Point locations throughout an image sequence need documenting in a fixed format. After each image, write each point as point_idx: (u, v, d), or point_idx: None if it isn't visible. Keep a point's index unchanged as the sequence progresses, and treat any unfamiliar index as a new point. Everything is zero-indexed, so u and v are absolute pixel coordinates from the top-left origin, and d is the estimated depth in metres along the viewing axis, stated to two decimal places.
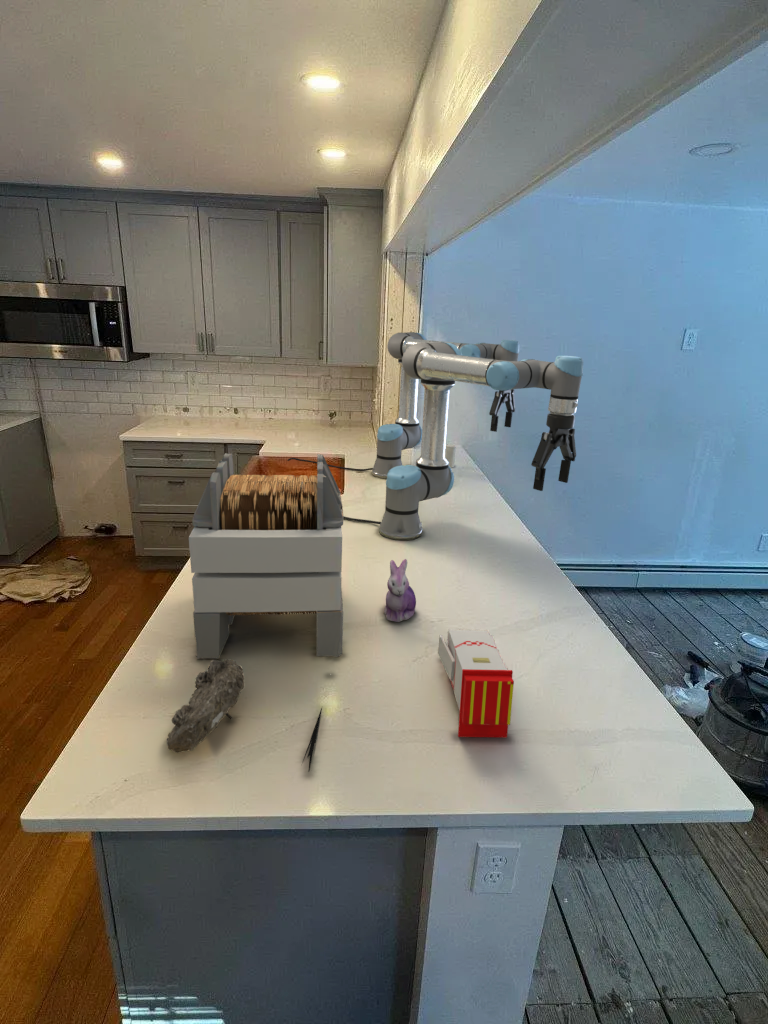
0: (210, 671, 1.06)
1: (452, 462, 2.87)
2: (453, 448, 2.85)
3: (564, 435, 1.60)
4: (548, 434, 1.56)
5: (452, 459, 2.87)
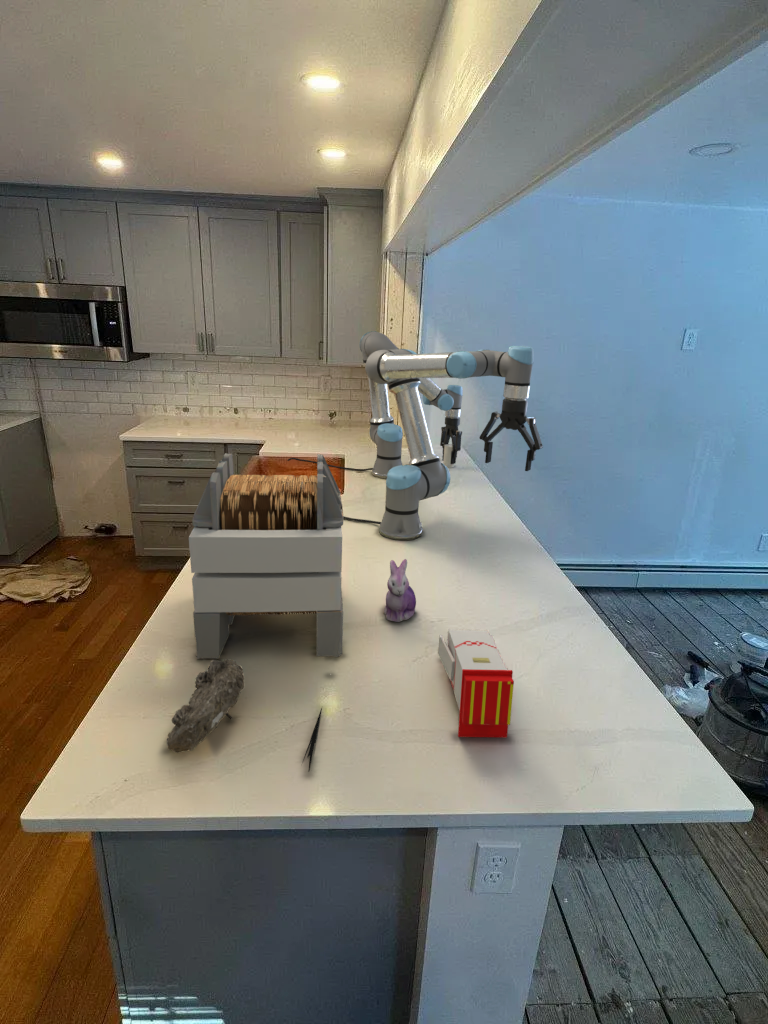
0: (210, 671, 1.06)
1: None
2: None
3: None
4: (535, 418, 1.72)
5: None
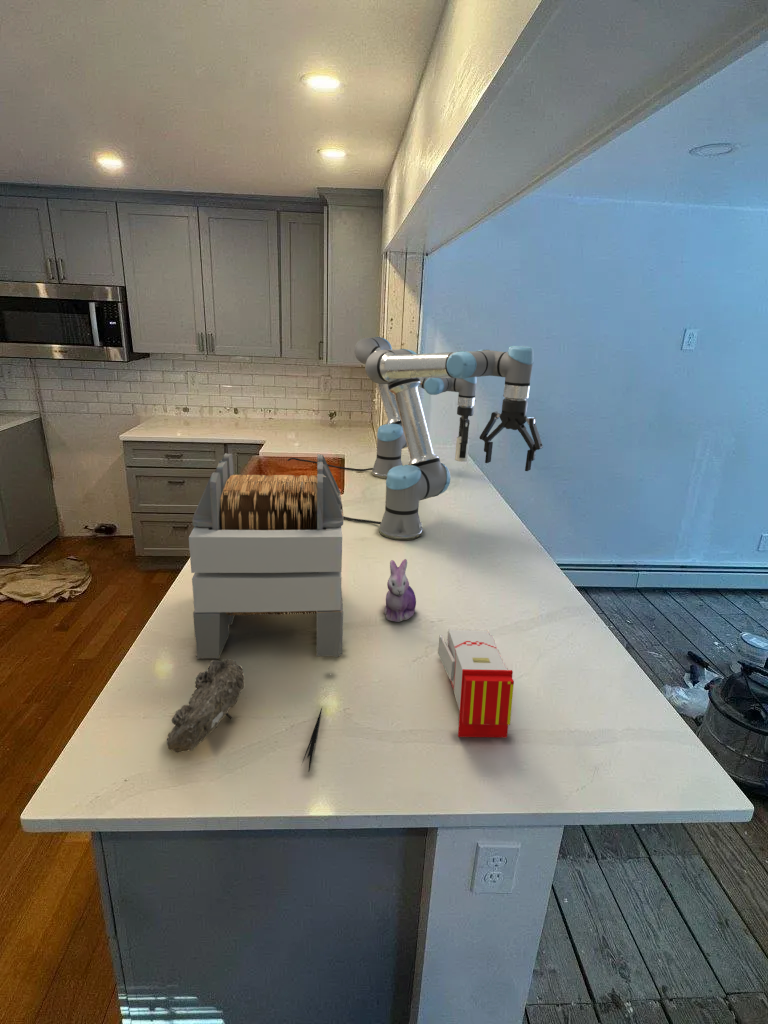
0: (210, 671, 1.06)
1: None
2: None
3: None
4: (535, 418, 1.72)
5: None
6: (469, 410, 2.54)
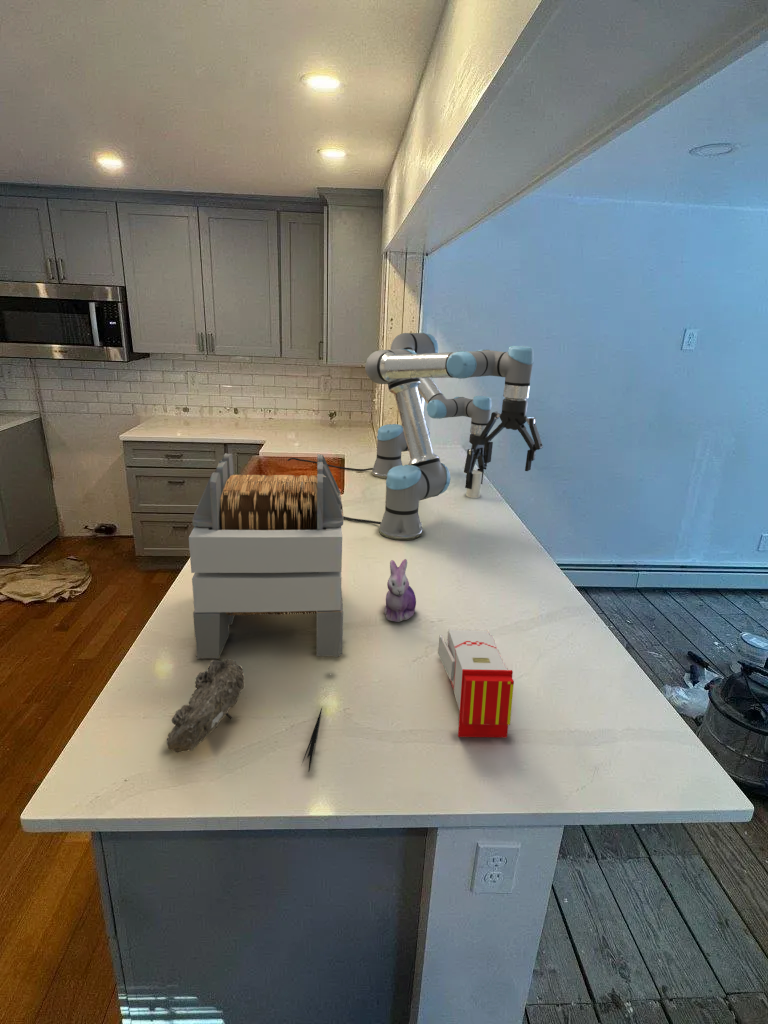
0: (210, 671, 1.06)
1: (470, 491, 2.42)
2: None
3: None
4: (535, 418, 1.72)
5: None
6: (477, 438, 2.33)
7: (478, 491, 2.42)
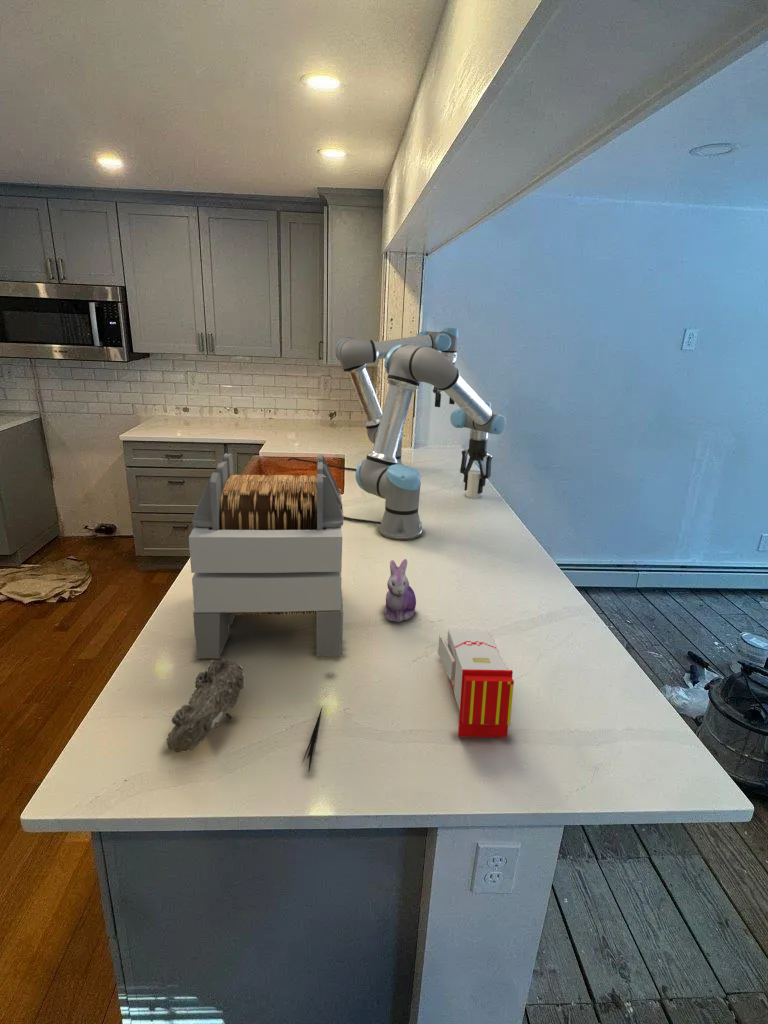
0: (210, 671, 1.06)
1: (470, 491, 2.42)
2: (471, 475, 2.40)
3: None
4: (492, 456, 2.36)
5: (470, 488, 2.41)
6: None
7: None
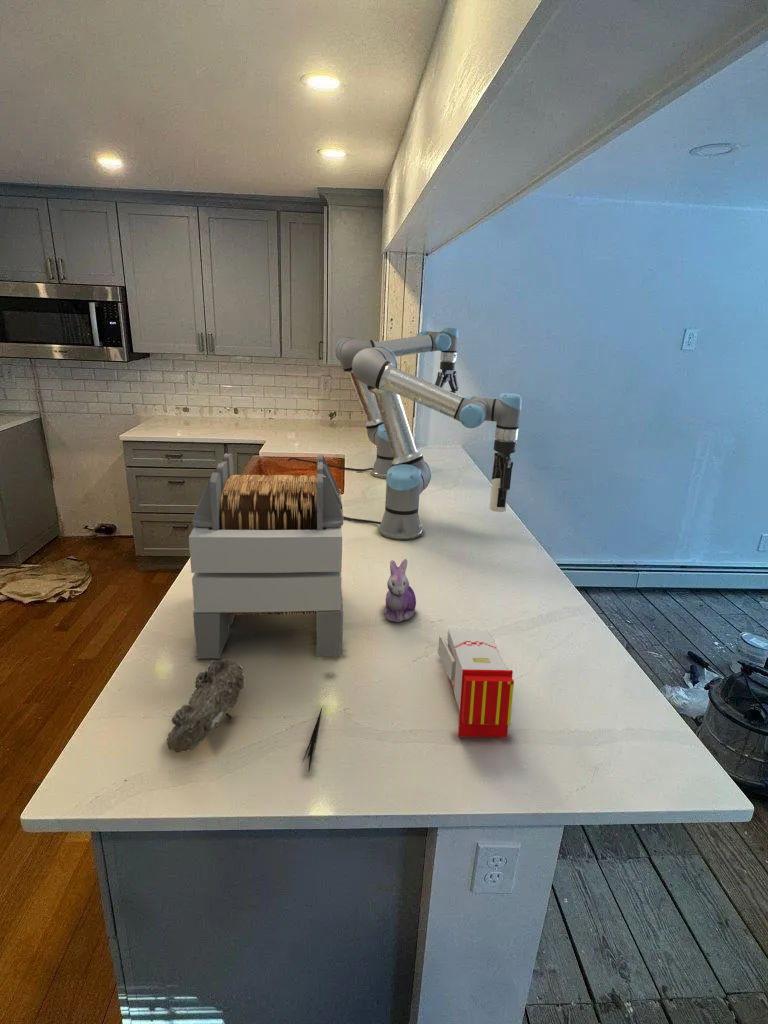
0: (210, 671, 1.06)
1: (490, 502, 2.01)
2: (492, 482, 1.99)
3: None
4: (511, 463, 1.90)
5: None
6: (446, 364, 2.71)
7: None
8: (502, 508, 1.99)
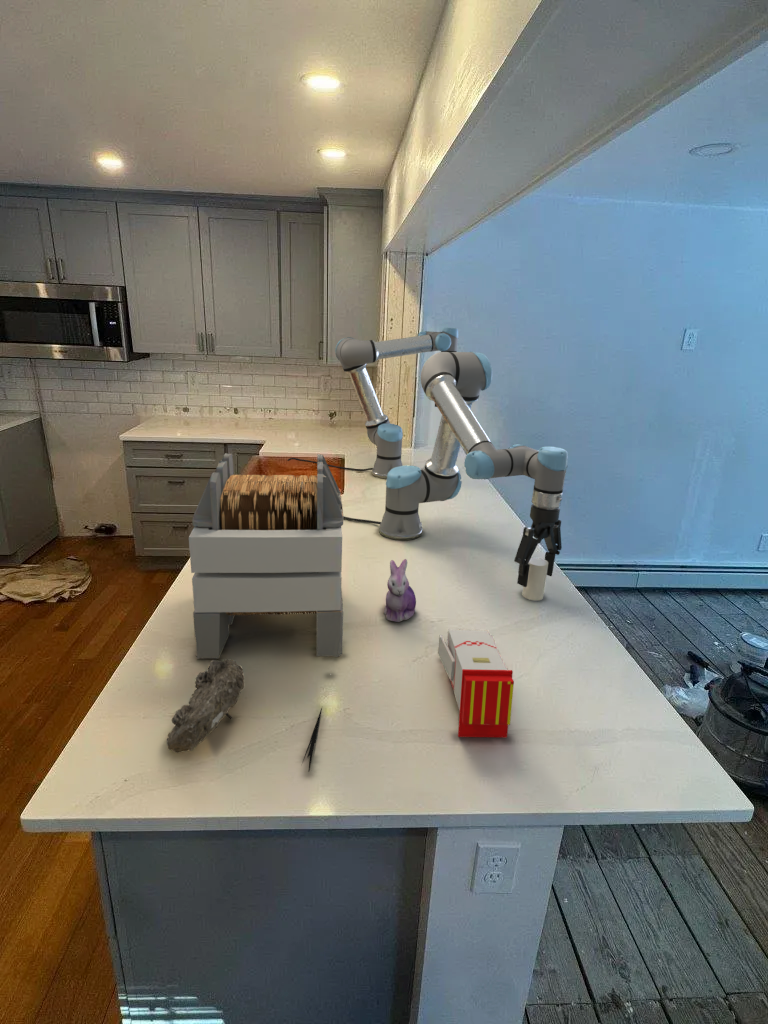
0: (210, 671, 1.06)
1: None
2: None
3: (549, 527, 1.53)
4: (529, 530, 1.48)
5: None
6: None
7: (525, 588, 1.58)
8: (529, 595, 1.58)
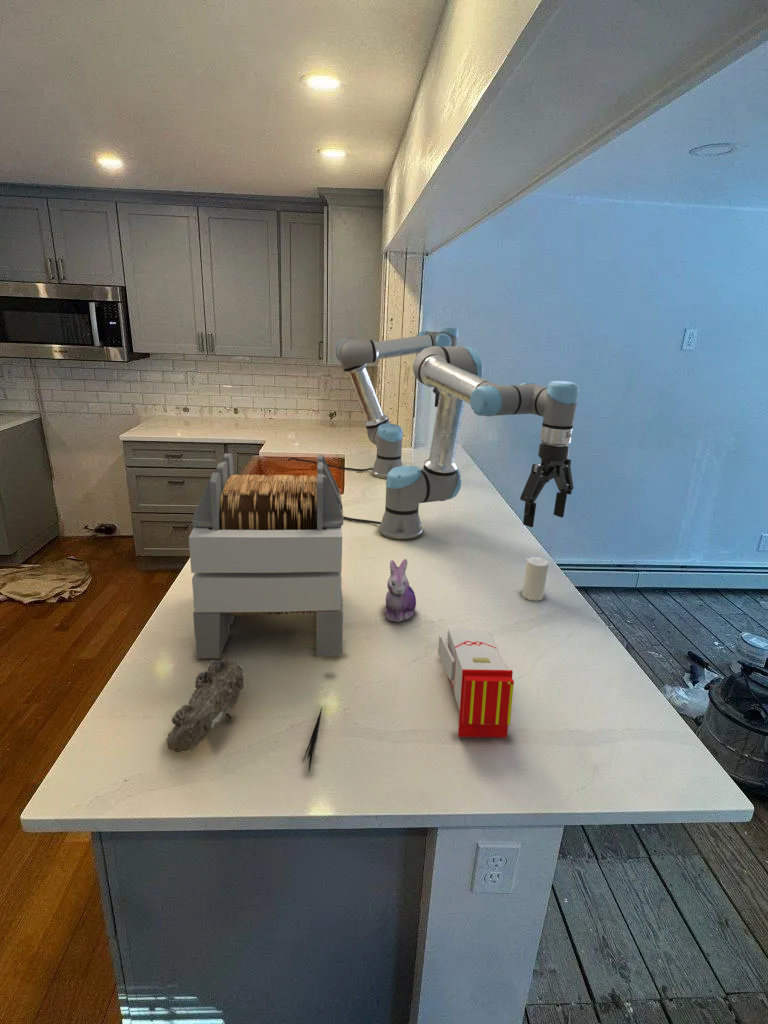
0: (210, 671, 1.06)
1: None
2: None
3: (558, 467, 1.47)
4: (538, 466, 1.43)
5: None
6: None
7: (525, 588, 1.58)
8: (529, 595, 1.58)
